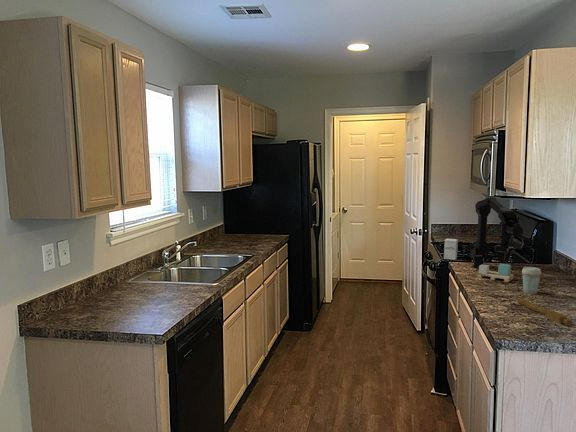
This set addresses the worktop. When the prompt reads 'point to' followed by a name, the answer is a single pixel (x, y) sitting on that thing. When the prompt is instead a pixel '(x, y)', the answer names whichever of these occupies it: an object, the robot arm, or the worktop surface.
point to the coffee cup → (531, 279)
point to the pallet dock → (496, 276)
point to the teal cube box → (504, 269)
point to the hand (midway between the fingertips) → (505, 262)
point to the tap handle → (546, 312)
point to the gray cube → (484, 269)
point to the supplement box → (450, 249)
